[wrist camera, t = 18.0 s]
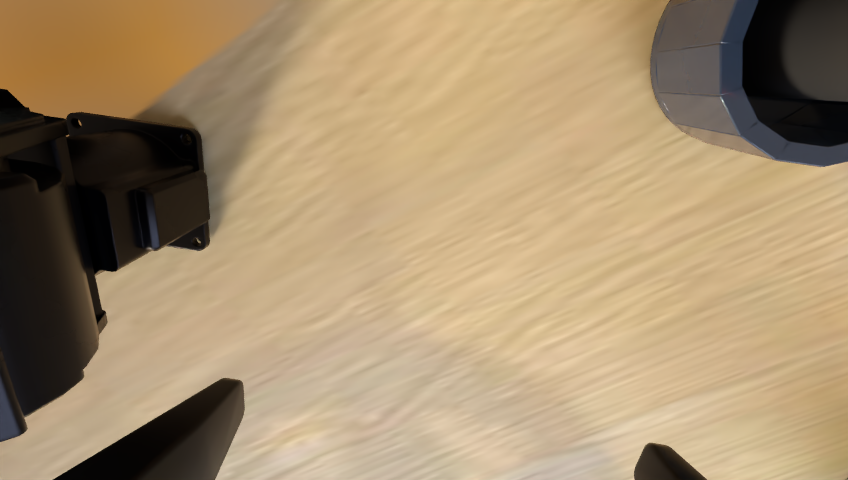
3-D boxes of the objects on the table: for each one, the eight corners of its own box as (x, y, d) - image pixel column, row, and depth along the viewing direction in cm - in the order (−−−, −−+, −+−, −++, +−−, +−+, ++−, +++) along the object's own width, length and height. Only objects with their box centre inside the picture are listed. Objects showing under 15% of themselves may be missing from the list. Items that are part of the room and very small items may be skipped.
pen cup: (624, 130, 19) (681, 147, 14) (691, -87, 15) (793, -158, 11) (802, 155, 18) (919, 180, 14) (905, -59, 15) (1101, -118, 11)
